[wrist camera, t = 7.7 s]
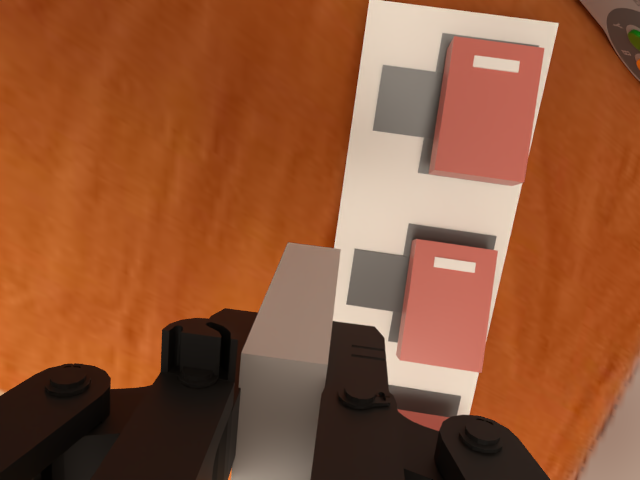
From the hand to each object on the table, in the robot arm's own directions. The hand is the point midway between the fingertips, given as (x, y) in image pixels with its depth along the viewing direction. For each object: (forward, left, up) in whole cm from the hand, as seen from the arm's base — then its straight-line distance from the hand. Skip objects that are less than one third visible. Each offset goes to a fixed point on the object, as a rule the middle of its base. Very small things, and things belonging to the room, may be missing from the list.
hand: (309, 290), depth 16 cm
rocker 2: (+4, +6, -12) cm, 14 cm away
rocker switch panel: (+4, +5, -18) cm, 19 cm away
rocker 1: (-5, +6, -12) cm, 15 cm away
